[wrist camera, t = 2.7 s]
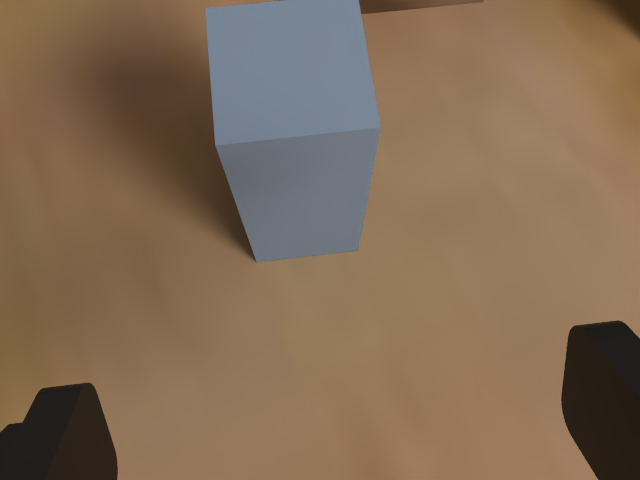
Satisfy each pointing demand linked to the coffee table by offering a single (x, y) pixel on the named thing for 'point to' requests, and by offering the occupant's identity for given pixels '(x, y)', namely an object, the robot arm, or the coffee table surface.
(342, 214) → the slate pillar
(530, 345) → the coffee table surface
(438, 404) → the coffee table surface
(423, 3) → the walnut slab
